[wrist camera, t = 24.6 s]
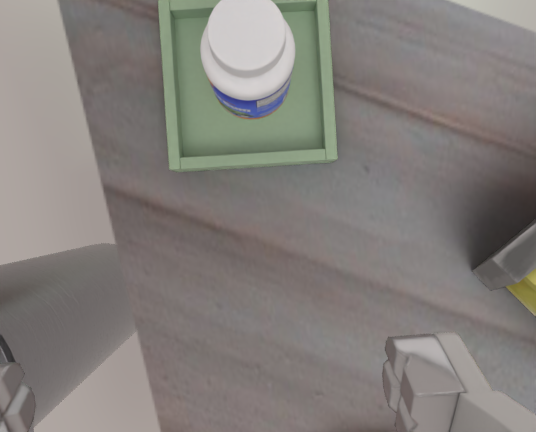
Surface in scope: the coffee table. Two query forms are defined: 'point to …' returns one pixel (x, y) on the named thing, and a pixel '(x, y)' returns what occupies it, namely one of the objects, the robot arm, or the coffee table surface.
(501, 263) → the lantern
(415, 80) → the coffee table surface
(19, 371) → the robot arm
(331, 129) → the tray
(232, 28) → the pill bottle
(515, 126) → the coffee table surface
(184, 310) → the coffee table surface
